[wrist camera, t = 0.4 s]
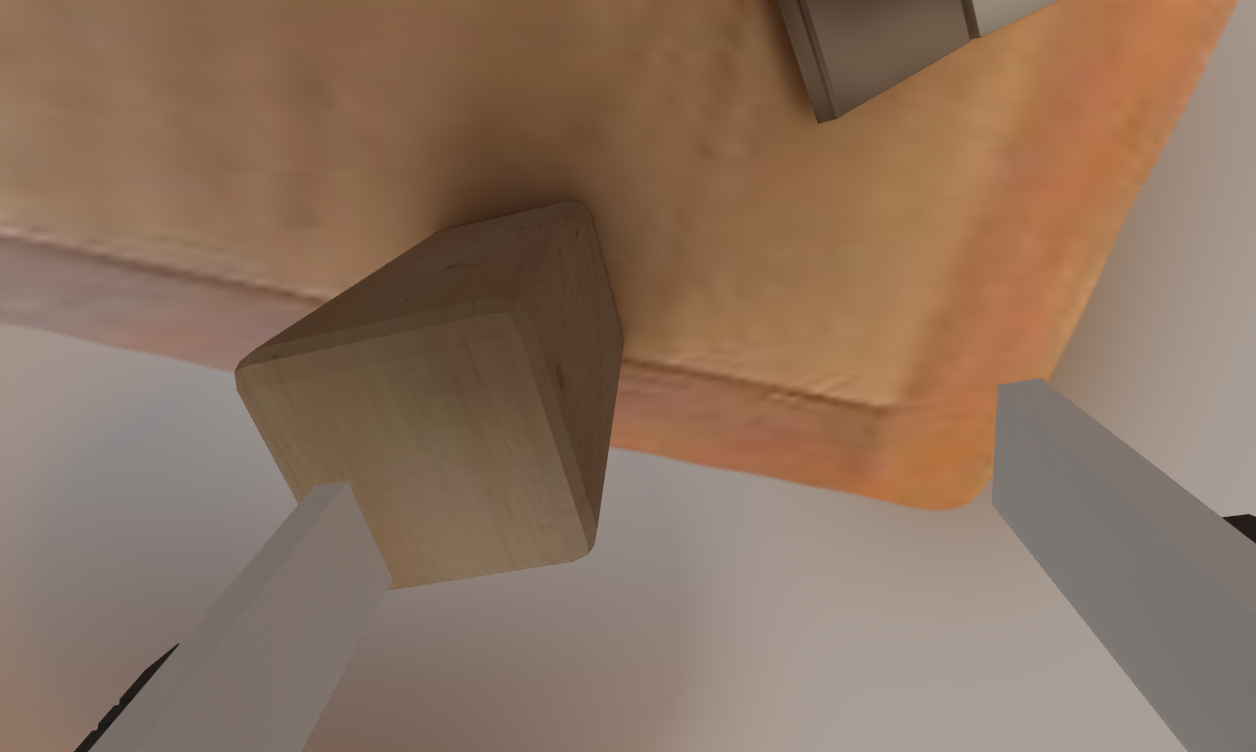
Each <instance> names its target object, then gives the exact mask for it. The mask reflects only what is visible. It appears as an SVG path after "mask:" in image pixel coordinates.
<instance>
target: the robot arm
mask: <svg viewBox="0 0 1256 752" xmlns="http://www.w3.org/2000/svg"><path fill="white" fill-rule="evenodd" d="M992 505H993V506H994V507H995V509H996V510H997V511H998V512H999V514H1000V515H1001V516H1002V518H1003V519H1004V520H1005V521H1006V523H1007V524H1008V525H1009V526H1010V528H1011V529H1012V530H1013V531H1014V533H1015V534H1016V535H1017V536H1018V538H1019V539H1020V540H1021V541H1022V542H1023V544H1024V545H1025V546H1026V548H1027V549H1028V550H1029V552H1030V553H1031V554H1032V555H1033V557H1034V558H1035V559H1036V560H1037V562H1038V563H1039V564H1040V566H1041V567H1042V568H1043V569H1044V571H1045V572H1046V573H1047V574H1048V575H1049V577H1050V578H1051V579H1052V581H1053V582H1054V583H1055V584H1056V586H1057V587H1058V588H1059V590H1060V591H1061V592H1062V593H1063V594H1064V596H1065V597H1066V598H1067V600H1068V601H1069V602H1070V603H1071V605H1072V606H1073V607H1074V608H1075V610H1076V611H1077V612H1078V614H1079V615H1080V616H1081V617H1082V619H1083V620H1084V621H1085V622H1086V624H1087V625H1088V626H1089V627H1090V628H1091V630H1092V631H1093V632H1094V634H1095V635H1096V636H1097V637H1098V639H1099V640H1100V641H1101V643H1102V644H1103V645H1104V646H1105V648H1106V649H1107V650H1108V651H1109V653H1110V654H1111V655H1112V656H1113V658H1114V659H1115V660H1116V662H1117V663H1118V664H1119V665H1120V667H1121V668H1122V669H1123V670H1124V672H1125V673H1126V674H1127V675H1128V677H1129V678H1130V679H1131V681H1132V682H1133V683H1134V684H1135V686H1136V687H1137V688H1138V689H1139V691H1140V692H1141V693H1142V694H1143V696H1144V697H1145V698H1146V699H1147V701H1148V702H1149V703H1150V705H1151V706H1152V707H1153V708H1154V709H1155V711H1156V712H1157V713H1158V714H1159V716H1160V717H1161V718H1162V720H1163V721H1164V722H1165V723H1166V725H1167V726H1168V727H1169V728H1170V730H1171V731H1172V732H1173V733H1174V735H1175V736H1176V737H1177V738H1178V740H1179V741H1180V742H1181V743H1182V745H1183V746H1184V747H1185V749H1186V750H1187V751H1188V752H1256V517H1255V516H1252V515H1250V514H1247V515H1238V516H1230V517H1220V516H1219V515H1218V514H1216V513H1215V512H1214V511H1212V510H1211V509H1210V508H1208V507H1207V506H1206V505H1205V504H1203V503H1202V502H1201V501H1200V500H1198V499H1197V498H1196V497H1194V496H1193V495H1192V494H1190V493H1189V492H1188V491H1187V490H1185V489H1184V488H1183V487H1182V486H1180V485H1179V484H1178V483H1176V482H1175V481H1174V480H1172V479H1171V478H1170V477H1169V476H1167V475H1166V474H1165V473H1163V472H1162V471H1161V470H1159V469H1158V468H1157V467H1156V466H1154V465H1153V464H1152V463H1150V462H1149V461H1148V460H1147V459H1145V458H1144V457H1143V456H1141V455H1140V454H1139V453H1137V452H1136V451H1135V450H1134V449H1132V448H1131V447H1130V446H1128V445H1127V444H1126V443H1125V442H1123V441H1122V440H1121V439H1119V438H1118V437H1117V436H1115V435H1114V434H1113V433H1112V432H1110V431H1109V430H1107V429H1106V428H1105V427H1104V426H1103V425H1101V424H1100V423H1099V422H1097V421H1096V420H1095V419H1093V418H1092V417H1091V416H1090V415H1088V414H1087V413H1086V412H1084V411H1083V410H1082V409H1080V408H1079V407H1078V406H1077V405H1075V404H1074V403H1073V402H1071V401H1070V400H1069V399H1068V398H1066V397H1065V396H1064V395H1062V394H1061V393H1060V392H1058V391H1057V390H1056V389H1055V388H1053V387H1052V386H1051V385H1049V384H1048V383H1047V382H1046V381H1044V380H1043V379H1042V378H1039V379H1033V380H1026V381H1019V382H1012V383H1006V384H999V385H998V394H997V413H996V433H995V452H994V472H993V493H992ZM391 582H392V578H391V575H390V573H389V571H388V569H387V567H386V564H385V562H384V560H383V558H382V556H381V553H380V551H379V549H378V547H377V545H376V542H375V540H374V538H373V536H372V533H371V531H370V529H369V527H368V525H367V522H366V520H365V518H364V516H363V514H362V511H361V509H360V507H359V505H358V502H357V500H356V498H355V496H354V494H353V491H352V489H351V487H350V485H349V483H348V481H344V482H337V483H330V484H323V485H317V486H314V487H313V488H312V489H311V490H310V492H309V493H308V494H307V495H306V496H305V498H304V499H303V500H302V501H301V502H300V503H299V505H298V506H297V507H296V508H295V509H294V511H293V512H292V513H291V514H290V515H289V516H288V518H287V519H286V520H285V521H284V522H283V523H282V525H281V526H280V527H279V528H278V529H277V530H276V532H275V533H274V534H273V535H272V536H271V537H270V539H269V540H268V541H267V542H266V543H265V545H264V546H263V547H262V548H261V549H260V550H259V552H258V553H257V554H256V555H255V556H254V557H253V559H252V560H251V561H250V562H249V563H248V564H247V566H246V567H245V568H244V569H243V570H242V572H241V573H240V574H239V575H238V576H237V577H236V579H235V580H234V581H233V582H232V584H231V585H230V586H229V587H228V588H227V589H226V590H225V591H224V593H223V594H222V595H221V596H220V597H219V599H218V600H217V601H216V602H215V603H214V605H213V606H212V607H211V608H210V609H209V610H208V611H207V613H206V614H205V615H204V616H203V617H202V619H201V620H200V621H199V622H198V623H197V624H196V626H195V627H194V628H193V629H192V630H191V631H190V633H189V634H188V635H187V636H186V637H185V639H184V640H183V641H182V642H181V643H180V644H177V645H176V646H174V647H173V648H172V649H171V650H170V651H168V652H167V653H166V654H165V655H163V656H162V657H161V658H160V659H159V660H157V661H156V662H155V663H154V664H152V665H151V666H150V667H149V668H147V669H146V670H145V671H144V672H143V673H142V675H141V676H140V677H139V678H138V679H137V680H136V682H135V683H134V684H133V685H132V686H131V687H130V688H129V689H128V690H127V692H126V693H125V694H124V695H123V696H122V697H121V699H120V703H119V705H116V706H113V708H112V709H111V710H110V711H109V712H108V713H107V715H106V716H105V717H104V718H103V719H102V720H101V721H100V723H99V724H98V729H97V730H95V731H92V732H91V733H90V734H89V735H88V736H87V737H86V739H85V740H84V741H83V742H82V743H81V744H80V745H79V747H78V748H77V749H76V750H75V751H74V752H301V750H302V749H303V747H304V745H305V743H306V741H307V739H308V737H309V735H310V734H311V732H312V730H313V728H314V726H315V724H316V722H317V720H318V719H319V717H320V715H321V713H322V711H323V709H324V707H325V705H326V704H327V702H328V700H329V698H330V696H331V694H332V692H333V691H334V688H335V687H336V685H337V683H338V681H339V679H340V677H341V676H342V674H343V672H344V670H345V668H346V666H347V664H348V662H349V660H350V659H351V657H352V655H353V653H354V651H355V649H356V647H357V646H358V644H359V642H360V640H361V638H362V636H363V634H364V632H365V630H366V629H367V627H368V625H369V623H370V621H371V619H372V617H373V616H374V614H375V612H376V610H377V608H378V606H379V604H380V602H381V601H382V599H383V597H384V595H385V593H386V591H387V589H388V587H389V586H390V584H391Z"/></svg>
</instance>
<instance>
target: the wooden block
mask: <svg viewBox="0 0 1256 752" xmlns="http://www.w3.org/2000/svg"><path fill="white" fill-rule="evenodd" d="M623 345H624V341H623V338H622V334H621V330H620V326H619V322H618V318H617V314H616V310H615V306H614V302H613V298H612V294H611V290H610V287H609V283H608V279H607V275H606V271H605V267H604V263H603V259H602V255H601V251H600V247H599V243H598V239H597V236H596V232H595V228H594V224H593V220H592V216H591V213H590V212H589V211H588V209H587V208H586V206H585V205H584V204H583V203H581V202H576V201H570V200H569V201H565V202H561V203H556V204H552V205H548V206H544V207H540V208H535V209H531V210H527V211H523V212H518V213H514V214H510V215H506V216H502V217H497V218H493V219H489V220H485V221H481V222H476V223H472V224H468V225H464V226H460V227H455V228H451V229H447V230H443V231H439V232H436V233H434V234H433V235H431V236H430V237H428V238H427V239H425V240H423V241H422V242H420V243H419V244H417V245H416V246H414V247H413V248H411V249H409V250H408V251H406V252H405V253H403V254H402V255H400V256H399V257H397V258H396V259H394V260H392V261H391V262H389V263H388V264H386V265H385V266H383V267H382V268H380V269H379V270H377V271H375V272H374V273H372V274H371V275H369V276H368V277H366V278H365V279H363V280H361V281H360V282H358V283H357V284H355V285H354V286H352V287H351V288H349V289H348V290H346V291H344V292H343V293H341V294H340V295H338V296H337V297H335V298H334V299H332V300H330V301H329V302H327V303H326V304H324V305H323V306H321V307H320V308H318V309H317V310H315V311H313V312H312V313H310V314H309V315H307V316H306V317H304V318H303V319H301V320H300V321H298V322H296V323H295V324H293V325H292V326H290V327H289V328H287V329H286V330H284V331H282V332H281V333H279V334H278V335H276V336H275V337H273V338H272V339H270V340H269V341H267V342H265V343H264V344H262V345H261V346H259V347H258V348H256V349H255V350H254V351H252V352H251V353H250V354H249V355H247V356H246V357H245V358H244V359H243V360H241V361H240V362H239V364H238V366H237V368H236V370H235V379H236V386H237V391H238V393H239V395H240V397H241V399H242V400H243V402H244V404H245V406H246V408H247V410H248V412H249V414H250V415H251V417H252V419H253V421H254V423H255V425H256V427H257V428H258V430H259V432H260V434H261V436H262V438H263V440H264V441H265V443H266V445H267V447H268V449H269V451H270V453H271V454H272V456H273V458H274V460H275V462H276V464H277V466H278V467H279V469H280V471H281V473H282V475H283V477H284V479H285V480H286V482H287V484H288V486H289V488H290V490H291V492H292V493H293V495H294V497H295V499H296V501H297V503H298V505H299V503H300V502H301V501H302V500H303V499H304V498H305V496H306V495H307V494H308V493H309V492H310V490H311V489H312V488H313V487H314V486H317V485H323V484H330V483H337V482H344V481H348V483H349V485H350V487H351V489H352V491H353V494H354V496H355V498H356V500H357V502H358V505H359V507H360V509H361V511H362V514H363V516H364V518H365V520H366V522H367V525H368V527H369V529H370V531H371V533H372V536H373V538H374V540H375V542H376V545H377V547H378V549H379V551H380V553H381V556H382V558H383V560H384V562H385V564H386V567H387V569H388V571H389V573H390V575H391V578H392V582H391V584H390V586H389V587H388V589H387V591H388V590H394V589H401V588H407V587H414V586H420V585H426V584H433V583H439V582H446V581H452V580H458V579H465V578H471V577H478V576H484V575H491V574H497V573H503V572H510V571H516V570H523V569H529V568H535V567H541V566H548V565H555V564H561V563H567V562H573V561H575V560H577V559H579V558H581V557H583V556H585V555H587V554H588V553H589V552H590V551H591V549H592V548H593V546H594V544H595V539H596V533H597V527H598V520H599V513H600V506H601V498H602V492H603V485H604V478H605V471H606V464H607V457H608V450H609V443H610V436H611V429H612V422H613V415H614V408H615V401H616V394H617V387H618V380H619V373H620V366H621V359H622V352H623Z"/></svg>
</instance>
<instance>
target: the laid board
mask: <svg viewBox="0 0 1256 752" xmlns="http://www.w3.org/2000/svg"><path fill="white" fill-rule="evenodd" d="M1056 1H1058V0H961V4H962V8H963V12H964V17H965V21H966V25H967V30H968V34H969V39H972V38H979V37H982V36H984V35H986V34H988V33H990V32H993V31H995V30H997V29H999V28H1001V27H1003V26H1005V25H1007V24H1009V23H1012V22H1014V21H1016V20H1018V19H1020V18H1022V17H1024V16H1026V15H1028V14H1030V13H1033V12H1035V11H1037V10H1039V9H1041V8H1043V7H1045V6H1047V5H1049V4H1051V3H1054V2H1056Z"/></svg>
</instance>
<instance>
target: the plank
mask: <svg viewBox="0 0 1256 752" xmlns="http://www.w3.org/2000/svg"><path fill="white" fill-rule="evenodd" d="M778 3H779V6H780V9H781V12H782V15H783V18H784V21H785V25H786V28H787V31H788V34H789V37H790V40H791V43H792V46H793V49H794V52H795V55H796V58H797V61H798V64H799V67H800V70H801V73H802V76H803V79H804V83H805V86H806V89H807V92H808V95H809V98H810V101H811V104H812V107H813V110H814V113H815V116H816V119H817V122H818V123H822V122H826V121H830V120H834V119H837V118H839V117H841V116H842V115H843V114H845V113H847V112H848V111H850V110H852V109H854V108H855V107H857V106H859V105H861V104H862V103H864V102H866V101H868V100H869V99H871V98H873V97H875V96H876V95H878V94H880V93H881V92H883V91H885V90H887V89H888V88H890V87H892V86H894V85H895V84H897V83H899V82H901V81H902V80H904V79H906V78H908V77H909V76H911V75H913V74H915V73H916V72H918V71H920V70H922V69H923V68H925V67H927V66H929V65H930V64H932V63H934V62H935V61H937V60H939V59H941V58H942V57H944V56H946V55H948V54H949V53H951V52H953V51H955V50H956V49H958V48H960V47H962V46H963V45H965V44H967V43H969V42H970V39H969V34H968V30H967V25H966V21H965V17H964V12H963V8H962V4H961V0H778Z"/></svg>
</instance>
